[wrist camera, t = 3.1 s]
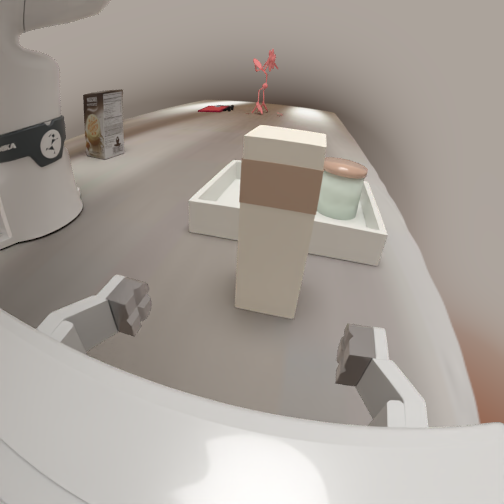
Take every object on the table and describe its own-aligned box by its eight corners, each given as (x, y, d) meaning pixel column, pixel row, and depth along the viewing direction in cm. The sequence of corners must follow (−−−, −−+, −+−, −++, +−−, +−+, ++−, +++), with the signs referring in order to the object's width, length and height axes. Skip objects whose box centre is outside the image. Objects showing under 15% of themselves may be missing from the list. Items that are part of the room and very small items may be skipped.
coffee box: (85, 156, 64) (81, 94, 55) (105, 149, 68) (102, 90, 60) (105, 160, 60) (101, 91, 51) (126, 153, 65) (124, 88, 56)
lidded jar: (312, 215, 39) (320, 166, 35) (314, 197, 44) (321, 154, 40) (359, 224, 38) (370, 176, 34) (355, 205, 43) (364, 163, 39)
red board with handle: (237, 107, 160) (212, 106, 161) (237, 103, 158) (212, 102, 159) (227, 113, 135) (197, 113, 136) (227, 108, 133) (198, 107, 134)
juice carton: (233, 307, 25) (243, 135, 17) (248, 272, 29) (260, 124, 22) (293, 319, 24) (327, 147, 17) (300, 282, 28) (326, 134, 21)
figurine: (244, 114, 131) (251, 44, 111) (260, 110, 151) (267, 51, 132) (275, 118, 127) (284, 47, 108) (287, 114, 148) (295, 53, 129)
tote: (189, 231, 35) (188, 200, 33) (232, 182, 50) (233, 159, 48) (377, 266, 32) (387, 235, 29) (362, 204, 46) (367, 181, 44)
